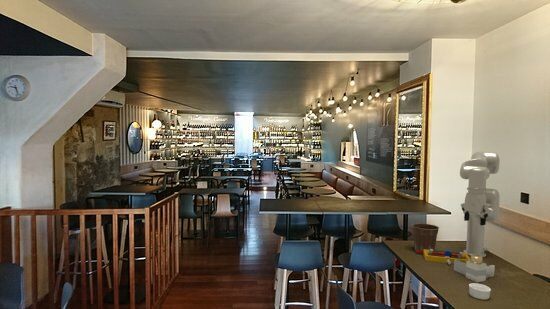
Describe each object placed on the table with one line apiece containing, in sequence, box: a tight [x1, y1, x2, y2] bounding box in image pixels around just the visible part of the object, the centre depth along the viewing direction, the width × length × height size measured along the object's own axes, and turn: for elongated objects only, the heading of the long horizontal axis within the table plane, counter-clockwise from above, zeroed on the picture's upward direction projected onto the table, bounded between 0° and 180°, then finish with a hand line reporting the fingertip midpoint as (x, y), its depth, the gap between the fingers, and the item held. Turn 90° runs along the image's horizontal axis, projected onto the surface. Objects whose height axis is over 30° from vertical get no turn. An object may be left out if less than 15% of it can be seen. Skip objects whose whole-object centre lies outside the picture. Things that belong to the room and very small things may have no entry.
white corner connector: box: [453, 260, 496, 283], centre depth 192 cm, size 16×16×9 cm
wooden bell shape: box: [470, 255, 483, 264], centre depth 185 cm, size 5×5×11 cm
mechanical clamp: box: [415, 249, 471, 266], centre depth 214 cm, size 18×6×30 cm
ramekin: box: [468, 282, 492, 301], centre depth 166 cm, size 9×9×4 cm
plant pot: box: [411, 222, 440, 252], centre depth 231 cm, size 16×16×16 cm
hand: (474, 222), depth 192 cm, fingers open, 9 cm apart
